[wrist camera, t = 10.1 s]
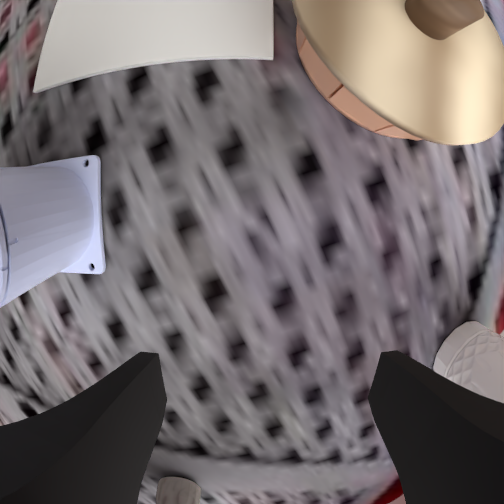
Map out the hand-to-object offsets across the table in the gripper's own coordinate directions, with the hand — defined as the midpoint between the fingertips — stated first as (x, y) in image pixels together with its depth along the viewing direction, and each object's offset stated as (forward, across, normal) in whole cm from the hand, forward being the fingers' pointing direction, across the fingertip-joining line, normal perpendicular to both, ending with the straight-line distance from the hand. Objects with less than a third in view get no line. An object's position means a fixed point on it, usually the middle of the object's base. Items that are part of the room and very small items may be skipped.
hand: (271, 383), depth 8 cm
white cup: (+11, -20, +8) cm, 24 cm away
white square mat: (+10, +8, -23) cm, 27 cm away
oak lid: (+6, -9, -16) cm, 19 cm away
